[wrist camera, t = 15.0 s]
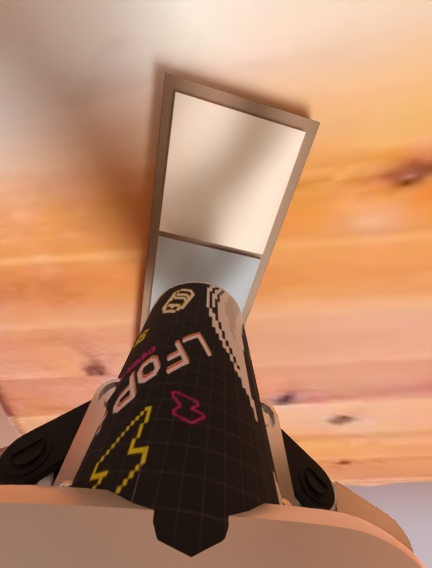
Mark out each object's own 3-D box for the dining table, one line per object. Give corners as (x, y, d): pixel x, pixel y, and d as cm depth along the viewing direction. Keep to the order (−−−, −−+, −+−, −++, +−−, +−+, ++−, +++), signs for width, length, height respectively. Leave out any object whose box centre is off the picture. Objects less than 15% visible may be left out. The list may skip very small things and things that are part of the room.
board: (312, 126, 13) (322, 121, 12) (203, 429, 27) (202, 440, 26) (168, 81, 12) (164, 70, 11) (133, 420, 26) (129, 431, 25)
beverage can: (224, 263, 12) (315, 857, 1) (250, 334, 15) (355, 758, 4) (138, 292, 13) (-220, 821, 2) (176, 355, 15) (91, 758, 5)
